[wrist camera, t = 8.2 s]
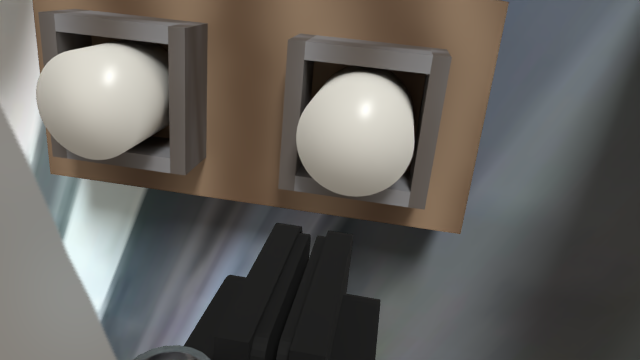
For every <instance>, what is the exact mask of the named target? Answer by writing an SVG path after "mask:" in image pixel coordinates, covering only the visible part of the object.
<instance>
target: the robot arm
mask: <svg viewBox="0 0 640 360" xmlns="http://www.w3.org/2000/svg"><path fill="white" fill-rule="evenodd" d="M352 243H353V234H347V233H340V232H334V231H328V233H327V236H326V237H323V236H317V238H316V241H315V244H314V247H313V249H312V252H311V255H310V258H309V251H310V234H303V233H302V227H301V226H294V225H287V224H281V223H276V224H275V226H274V228H273V230H272V232H271V234H270V235H269V237H268V239H267V241H266V243H265V244H264V246H263V248H262V250H261V252H260V254H259V255H258V257H257V259H256V261H255V263H254V264H253V266H252V268H251V270H250V272H249V274H248V275H247V277H240V276H234V275H228V276H227V277H226V279H225V280H224V282H223V283H222V285H221V286H220V288H219V290H218V291H217V293H216V294H215V296H214V298H213V299H212V301H211V303H210V304H209V306H208V307H207V309H206V311H205V312H204V314H203V316H202V317H201V319H200V320H199V322H198V324H197V325H196V327H195V329H194V330H193V332H192V333H191V335H190V337H189V338H188V340H187V341H186V343H185V345H184V346H180V345H178V346H163V347H159V348H155V349H151V350H149V351H147V352H145V353H142V354H140V355H138V356H137V357H136V358H135V359H133V360H375V355H376V344H377V333H378V322H379V311H380V299H374V298H368V297H362V296H356V295H350V294H346V292H347V284H348V276H349V267H350V259H351V251H352Z"/></svg>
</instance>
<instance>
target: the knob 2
mask: <svg viewBox="0 0 640 360" xmlns="http://www.w3.org/2000/svg"><path fill="white" fill-rule="evenodd" d="M414 142H415V141H414V120H413V105H412V101H411V97H410V95H409V93H408V91H407V89H406V87H405V86H404V84H403V83H402V82H401V81H400V80H399V78H397V77H396V76H395V75H394V74H392V73H391V72H389V71H388V70H385V69H380V68H371V67H363V66H350V67H347V68H344V69H342V70H340V71H338V72H337V73H335V74H334V75H332V76H331V77H330V78H329V79H328V80H327V81H326V83H325V84H324V85H323V86H322V88H321V89H320V90H319V91H318V93H317V94H316V95H315V96H314V98H313V99H312V100H311V101H310V103H309V104H308V105H307V106H306V108H305V109H304V111H303V113H302V115H301V117H300V119H299V123H298V126H297V133H296V144H297V150H298V154H299V157H300V160H301V162H302V164H303V166H304V168H305V169H306V171H307V172H308V173H309V175H310V176H311V177H312V178H313V179H314V180H315V181H316V182H318V183H319V184H320V185H321V186H323V187H325V188H326V189H328V190H330V191H332V192H335V193H338V194H341V195H345V196H354V197H358V196H368V195H372V194H376V193H378V192H381V191H383V190H385V189H387V188H388V187H390V186H391V185H393V184H394V183H395V182H396V181H397V180H398V179H399V178H400V177H401V176H402V175H403V174H404V172H405V171H406V169H407V167H408V166H409V164H410V161H411V158H412V155H413V151H414Z"/></svg>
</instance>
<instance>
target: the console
mask: <svg viewBox="0 0 640 360" xmlns="http://www.w3.org/2000/svg"><path fill="white" fill-rule="evenodd" d="M508 4H509V2H506V1H501V0H33V10H34V19H35V29H36V38H37V48H38V58H39V67H40V73H41V72H42V70H43V68H44V67H45V65H46V64H47V63H48V62H49V61H50V60H51V59H52V58H53V57H55V56H57V55H58V54H60V53H63V52H66V51H70V50H75V49H79V48H84V47H89V46H94V45H99V44H104V43H109V42H114V41H119V40H123V39H127V40H136V41H145V42H153V43H155V44H157V45H159V46H160V47H162V48H163V49H164V50H165V51H167V52H168V62H169V125H168V126H167V127H165V128H164V129H162V130H160V131H159V132H157V133H155V134H154V135H152V136H150V137H149V138H147V139H145V140H144V141H142V142H140V143H139V144H137V145H135V146H134V147H132V148H130V149H129V150H127V151H125V152H124V153H122V154H120V155H119V156H116V157H114V158H111V159H106V160H92V159H87V158H84V157H81V156H78V155H76V154H74V153H72V152H70V151H69V150H67V149H66V148H64V147H63V146H62V145H60V144H59V143H58V142H57V141H56V140H55V139H54V137H53V136H52V135H51V134H50V132H49V131H48V130H47V128H46V134H47V143H48V153H49V163H50V172H51V174H56V175H63V176H70V177H76V178H83V179H90V180H97V181H104V182H110V183H117V184H124V185H131V186H138V187H144V188H151V189H158V190H165V191H172V192H178V193H185V194H192V195H199V196H205V197H212V198H219V199H226V200H233V201H239V202H246V203H253V204H260V205H267V206H273V207H280V208H287V209H294V210H301V211H307V212H314V213H321V214H328V215H335V216H341V217H348V218H355V219H362V220H369V221H375V222H382V223H389V224H396V225H403V226H409V227H416V228H423V229H430V230H437V231H443V232H450V233H457V234H460V233H461V228H462V224H463V219H464V214H465V209H466V204H467V200H468V195H469V190H470V185H471V180H472V176H473V171H474V166H475V161H476V157H477V152H478V147H479V142H480V137H481V133H482V128H483V123H484V118H485V114H486V109H487V104H488V99H489V94H490V90H491V85H492V80H493V75H494V70H495V66H496V61H497V56H498V51H499V47H500V42H501V37H502V32H503V27H504V23H505V18H506V13H507V8H508ZM350 66H363V67H371V68H380V69H385V70H388V71H389V72H391V73H392V74H394V75H395V76H396V77H397V78H399V80H400V81H401V82H402V83H403V84H404V86H405V87H406V89H407V91H408V93H409V95H410V97H411V101H412V105H413V120H414V141H415V142H414V151H413V155H412V158H411V161H410V164H409V166H408V167H407V169H406V171H405V172H404V174H403V175H402V176H401V177H400V178H399V179H398V180H397V181H396V182H395V183H394V184H393V185H391V186H390V187H388V188H387V189H385V190H383V191H381V192H378V193H376V194H372V195H368V196H358V197H354V196H345V195H341V194H338V193H335V192H332V191H330V190H328V189H326V188H325V187H323V186H321V185H320V184H319V183H318V182H316V181H315V180H314V179H313V178H312V177H311V176H310V175H309V173H308V172H307V171H306V169H305V168H304V166H303V164H302V162H301V160H300V157H299V154H298V150H297V144H296V133H297V126H298V123H299V119H300V117H301V115H302V113H303V111H304V109H305V108H306V106H307V105H308V104H309V103H310V101H311V100H312V99H313V98H314V96H315V95H316V94H317V93H318V91H319V90H320V89H321V88H322V86H323V85H324V84H325V83H326V81H327V80H328V79H329V78H330V77H331V76H332V75H334V74H335V73H337V72H338V71H340V70H342V69H344V68H347V67H350Z"/></svg>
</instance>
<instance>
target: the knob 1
mask: <svg viewBox="0 0 640 360" xmlns="http://www.w3.org/2000/svg"><path fill="white" fill-rule="evenodd" d="M36 99H37V106H38V110H39V113H40V116H41V118H42V121H43V123H44V125H45V126H46V128H47V130H48V131H49V132H50V134H51V135H52V136H53V137H54V139H55V140H56V141H57V142H58V143H59V144H60V145H62V146H63V147H64V148H66V149H67V150H69V151H70V152H72V153H74V154H76V155H78V156H81V157H84V158H87V159H92V160H106V159H111V158H114V157H116V156H119V155H120V154H122V153H124V152H125V151H127V150H129V149H130V148H132V147H134V146H135V145H137V144H139V143H140V142H142V141H144V140H145V139H147V138H149V137H150V136H152V135H154V134H155V133H157V132H159V131H160V130H162V129H164V128H165V127H167V126H168V125H169V62H168V52H167V51H165V50H164V49H163V48H162V47H160V46H159V45H157V44H155V43H153V42H145V41H136V40H127V39H123V40H119V41H114V42H109V43H104V44H99V45H94V46H89V47H84V48H79V49H75V50H70V51H66V52H63V53H60V54H58V55H57V56H55V57H53V58H52V59H51V60H50V61H49V62H48V63H47V64H46V65H45V67H44V68H43V70H42V72H41V73H40V76H39V79H38V83H37V90H36Z"/></svg>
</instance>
